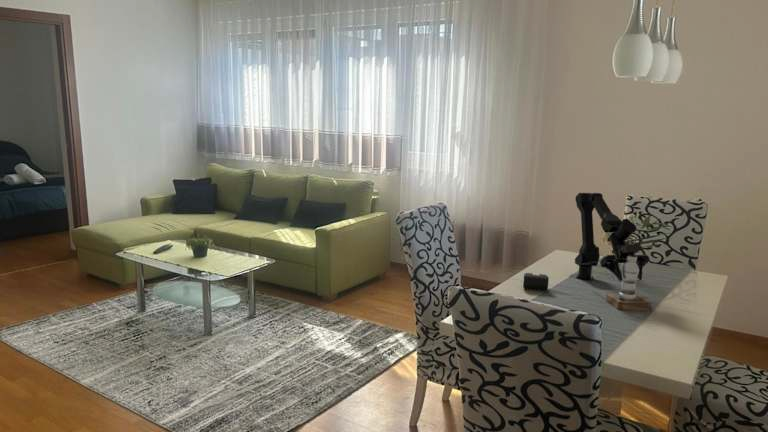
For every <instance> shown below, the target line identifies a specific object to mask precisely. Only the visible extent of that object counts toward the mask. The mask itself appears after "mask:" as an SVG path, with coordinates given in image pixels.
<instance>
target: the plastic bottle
mask: <svg viewBox="0 0 768 432" xmlns="http://www.w3.org/2000/svg"><path fill="white" fill-rule="evenodd" d="M637 256H638V255H635V254H634V255H627V258H626V260H627V261H626V262H625V263H622V266H621V275H622V280H621V284H620V289H619V290H620V292H619V295H618V299H619V300H620V301H622V302H623V301H636V294H635V293H637V292H636V290H637V289H636V288H637V287H636V286H637V281H638V273H639V267H638V265H637V263H636V261H637Z"/></svg>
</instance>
